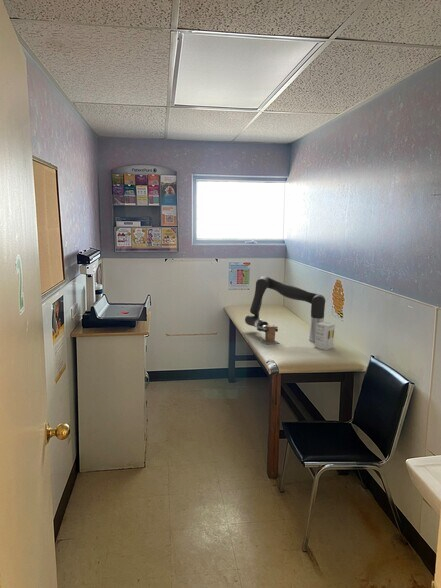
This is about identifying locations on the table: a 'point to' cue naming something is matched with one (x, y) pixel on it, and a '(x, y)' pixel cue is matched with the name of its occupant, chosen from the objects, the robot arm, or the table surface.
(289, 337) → the table surface
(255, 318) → the robot arm
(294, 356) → the table surface
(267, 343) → the mat
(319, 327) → the supplement box
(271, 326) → the walnut block
